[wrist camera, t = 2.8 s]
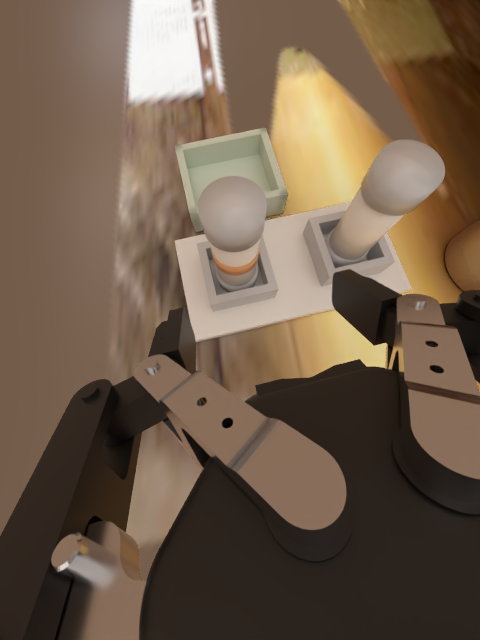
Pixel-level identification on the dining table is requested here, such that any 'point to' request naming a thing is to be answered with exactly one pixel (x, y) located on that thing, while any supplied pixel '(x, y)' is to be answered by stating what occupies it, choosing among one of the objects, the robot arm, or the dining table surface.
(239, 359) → the dining table surface
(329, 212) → the fuse board
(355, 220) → the fuse
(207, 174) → the parts tray
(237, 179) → the ball
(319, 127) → the dining table surface
